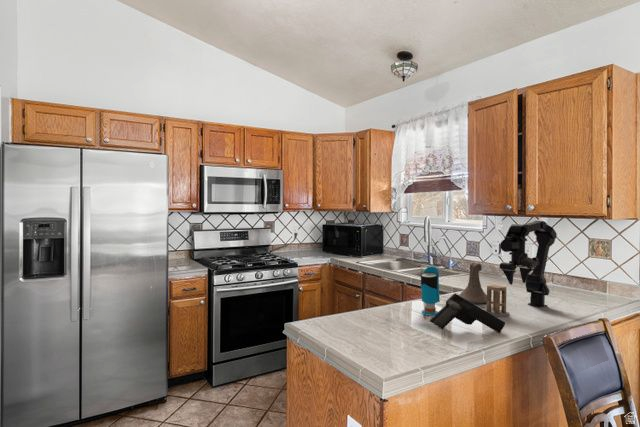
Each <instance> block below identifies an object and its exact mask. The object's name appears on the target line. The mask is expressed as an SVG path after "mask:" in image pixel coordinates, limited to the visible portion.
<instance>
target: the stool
mask: <svg viewBox="0 0 640 427" xmlns="http://www.w3.org/2000/svg"><path fill="white" fill-rule="evenodd" d="M492 291H493V293H492ZM492 294H493V295H492ZM486 295H487V303H486V309H487V312H491V309H493V310H494V311H495V314H497V315H498V314H500V310H501V313H506V311H507V286H503V285H499V284H491V285H486Z"/></svg>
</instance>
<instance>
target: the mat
mask: <svg viewBox="0 0 640 427" xmlns="http://www.w3.org/2000/svg"><path fill="white" fill-rule="evenodd" d="M484 310H485V311H487V308H485V309H484ZM488 313H490V314H492V315H494V316H495V317H497V318H507V317H510V315H511V314H510V312H508V311H507V310H506V313H501V309H500V314H498V315H497V314H495V311H494V310H493V308H491V312H488Z"/></svg>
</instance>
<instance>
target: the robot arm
mask: <svg viewBox="0 0 640 427" xmlns="http://www.w3.org/2000/svg"><path fill="white" fill-rule="evenodd" d="M532 232H533V234H534V236H535V240H536V243H537V245H538V246H537V250H536V255H535V257H529V256H528V253H526V242H527V241H528V239H527V237H528V236H529V235H530V233H532ZM557 235H558V233H557V232H556V230H555V228H553V227H552V226H550V225H549V224H548V223H547V222H546V221H544V220H534V221H532V222H527V223H524V224H516V223H515V224H513V223H512V224H511V225H510V226H509V227H508V230H507V232H506V234H505V236H504V237H503V238H504V239H503V240H502V241H501V242H500V245H499V247H500V249H501V251H503V252H505V253H509V255H510V258H511V259H510V260H509V262H500V263H499V268H498V269H500V271H502V272H503V274H504V275H505V277H506V279H507V281H508V283H509V285H513V282H514V275H515V273H517V270H516V269H517V268H519V272H520V273H519V274H520V278H521V281H522V283H523V284H525V288H526V292H527V293H530V299H529V300H530V303H529V302H528V303H527V305H528V306H533V307H537V308H546V307H548V304H545V302H546V300H545V297H546V296H549V295H550V289H549V287H548V286H547V279H546V277H545V271H546V265H547V261H548V257H549V256H548V255H549V251H550V248H551V246H553V245H554V244H555V241H556V239H557V237H558V236H557Z"/></svg>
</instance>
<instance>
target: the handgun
mask: <svg viewBox="0 0 640 427" xmlns="http://www.w3.org/2000/svg"><path fill="white" fill-rule="evenodd" d="M453 319H457V320H459V321H460V322H461V323H464V324H465V325H473V324H474V322H477V321H478V322H479V323H481V324H482V325H484V326H486V327H488V328H490V329H491V330H493V331H494V332H497V333H498V334H500V333H501V332H502V331H503V329H504V327H505V326H506V322H505V321H504V320H502V319H500V317H496V316H494V315H492V314H490V313H488V312H487V311H485V309H483V308H481V307H480V306H478V305H477V304H473V303H471V302H469V301H468V300H466V299H464V298H462V297H461V296H459V294H457V293H456V292H455V293H453V294H452V295H451V296H450V297H449V298H447V299H446V300H445V305H444V306H443V307H441V309H440V310H439V311H438V313H437V314H436V315H433V317H431V318H430V320H429V322H430V323H431V324H433V325H435V326H436V327H437V328H440V329H441V330H444V328H445V327H447V326H448V324H450V323H451V322H452V321H453Z"/></svg>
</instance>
